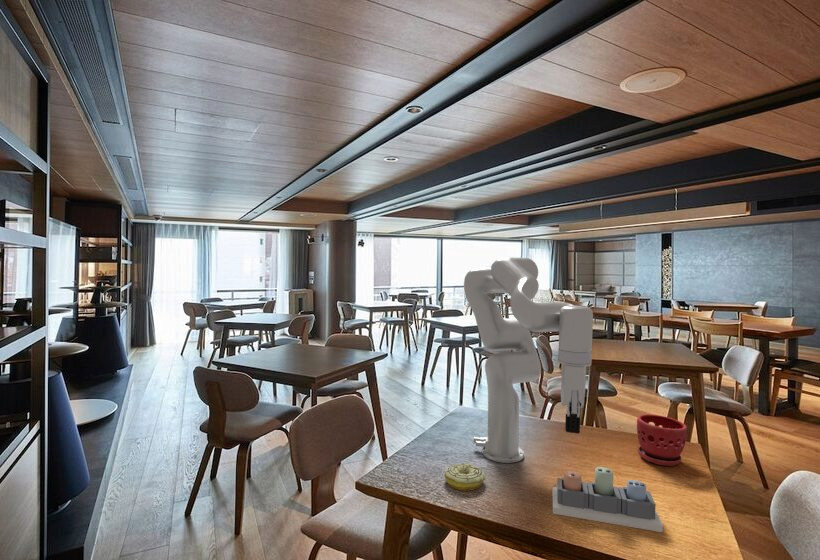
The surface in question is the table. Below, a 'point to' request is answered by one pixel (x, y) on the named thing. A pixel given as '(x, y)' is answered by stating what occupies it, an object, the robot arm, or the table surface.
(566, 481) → the button one pip
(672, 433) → the plant pot
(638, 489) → the button three pip
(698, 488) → the table surface
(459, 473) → the decorated donut
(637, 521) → the button board
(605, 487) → the button two pip
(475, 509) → the table surface
